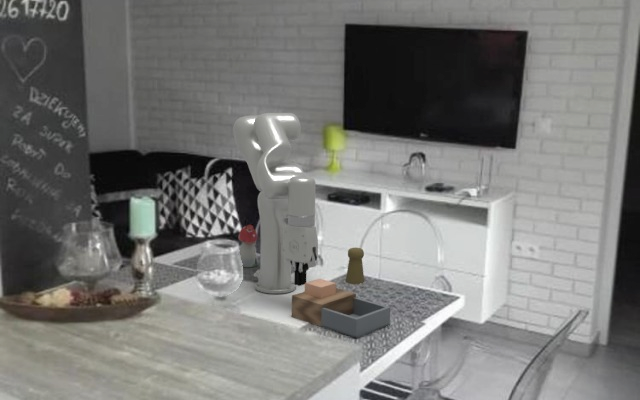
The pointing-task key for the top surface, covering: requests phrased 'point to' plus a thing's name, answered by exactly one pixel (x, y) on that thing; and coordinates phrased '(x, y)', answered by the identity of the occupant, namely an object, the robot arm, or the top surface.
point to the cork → (355, 266)
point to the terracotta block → (320, 288)
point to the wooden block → (321, 305)
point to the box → (357, 318)
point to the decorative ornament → (248, 246)
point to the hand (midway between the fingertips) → (300, 284)
